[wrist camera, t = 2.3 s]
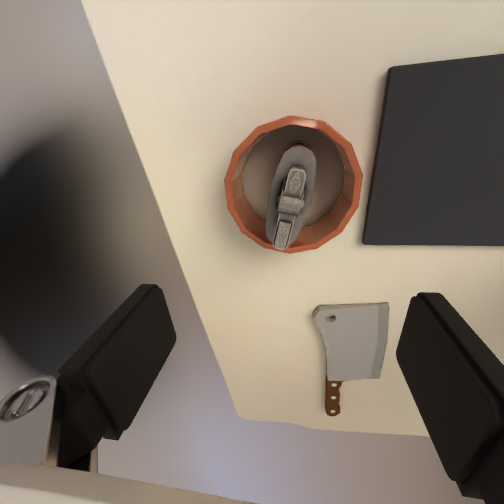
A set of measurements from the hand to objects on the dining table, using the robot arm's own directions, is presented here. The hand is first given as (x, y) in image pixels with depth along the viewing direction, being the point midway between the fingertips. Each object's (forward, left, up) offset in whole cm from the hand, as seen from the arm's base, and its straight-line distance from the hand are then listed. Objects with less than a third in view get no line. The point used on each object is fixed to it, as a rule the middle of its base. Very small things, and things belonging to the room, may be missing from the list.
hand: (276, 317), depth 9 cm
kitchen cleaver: (-9, +27, -20) cm, 34 cm away
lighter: (0, -1, -20) cm, 20 cm away
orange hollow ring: (0, -1, -19) cm, 19 cm away
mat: (-18, -2, -19) cm, 27 cm away
